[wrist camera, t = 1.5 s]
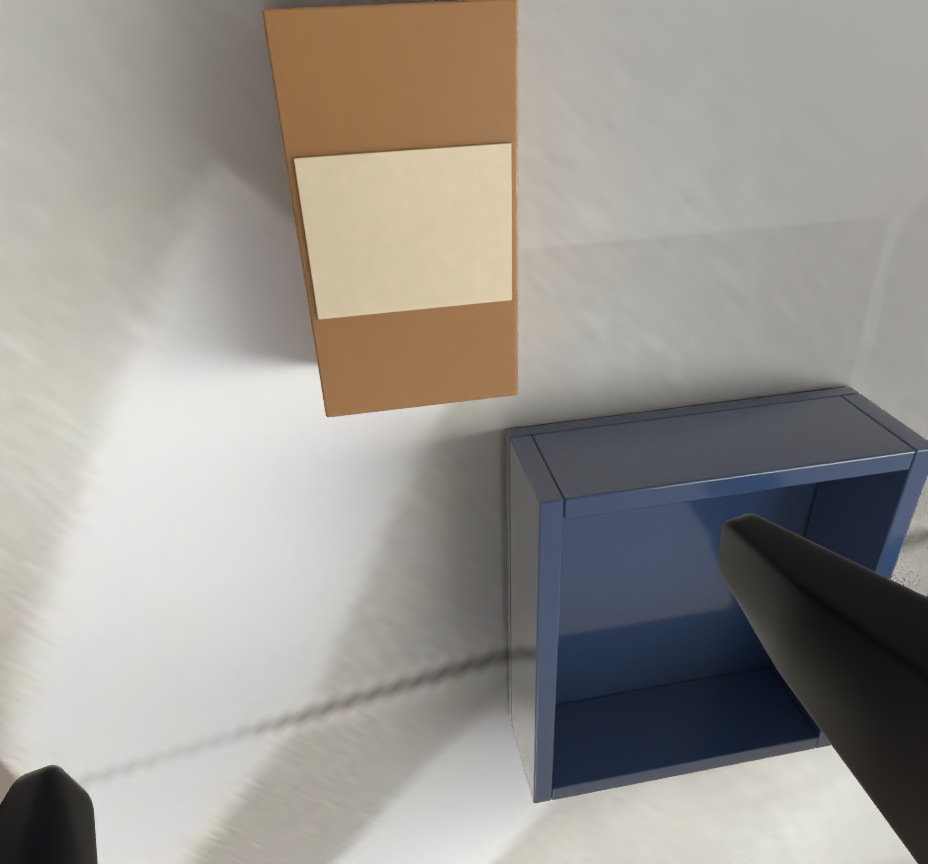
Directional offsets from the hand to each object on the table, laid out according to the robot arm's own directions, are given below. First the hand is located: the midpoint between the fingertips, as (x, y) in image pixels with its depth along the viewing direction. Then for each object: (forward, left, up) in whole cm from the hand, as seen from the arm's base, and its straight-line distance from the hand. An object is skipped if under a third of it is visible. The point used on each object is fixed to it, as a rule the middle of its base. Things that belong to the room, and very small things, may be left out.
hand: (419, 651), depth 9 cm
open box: (-11, +14, -15) cm, 23 cm away
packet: (-1, -2, -15) cm, 15 cm away
